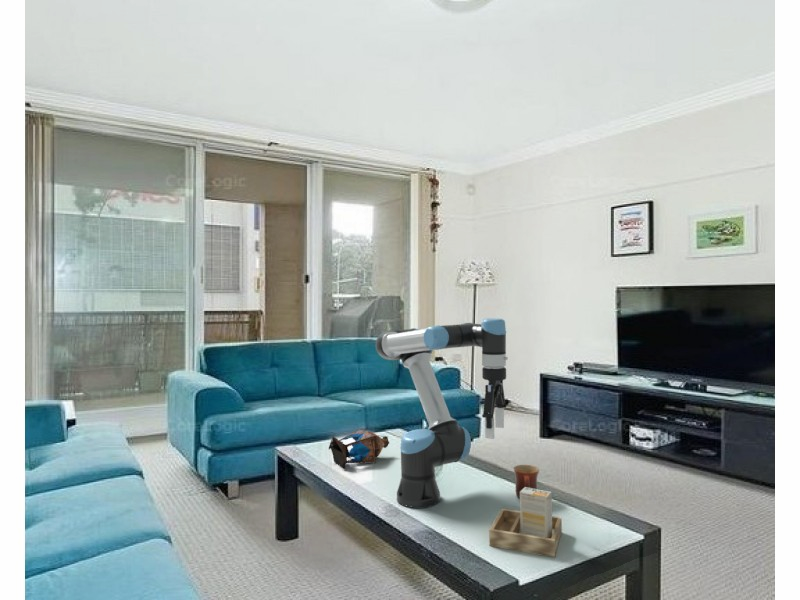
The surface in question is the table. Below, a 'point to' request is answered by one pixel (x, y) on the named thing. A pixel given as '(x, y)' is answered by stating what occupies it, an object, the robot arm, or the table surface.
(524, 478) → the mug
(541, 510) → the supplement box
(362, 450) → the lantern
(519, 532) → the frame
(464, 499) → the table surface
